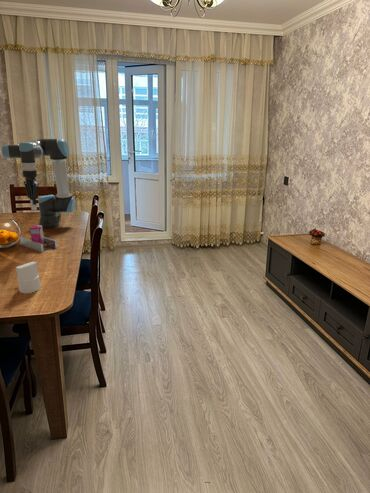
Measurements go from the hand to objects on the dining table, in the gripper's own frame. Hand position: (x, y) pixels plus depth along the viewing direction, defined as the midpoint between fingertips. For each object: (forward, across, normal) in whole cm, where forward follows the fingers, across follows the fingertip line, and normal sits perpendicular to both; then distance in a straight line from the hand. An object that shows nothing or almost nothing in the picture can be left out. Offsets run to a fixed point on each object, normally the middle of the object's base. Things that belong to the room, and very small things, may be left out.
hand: (34, 209), depth 207 cm
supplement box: (+22, 0, 0) cm, 22 cm away
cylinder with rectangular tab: (+25, +51, -35) cm, 67 cm away
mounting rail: (+24, 0, 0) cm, 24 cm away
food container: (+25, -58, +51) cm, 81 cm away
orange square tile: (+23, 0, 0) cm, 23 cm away
